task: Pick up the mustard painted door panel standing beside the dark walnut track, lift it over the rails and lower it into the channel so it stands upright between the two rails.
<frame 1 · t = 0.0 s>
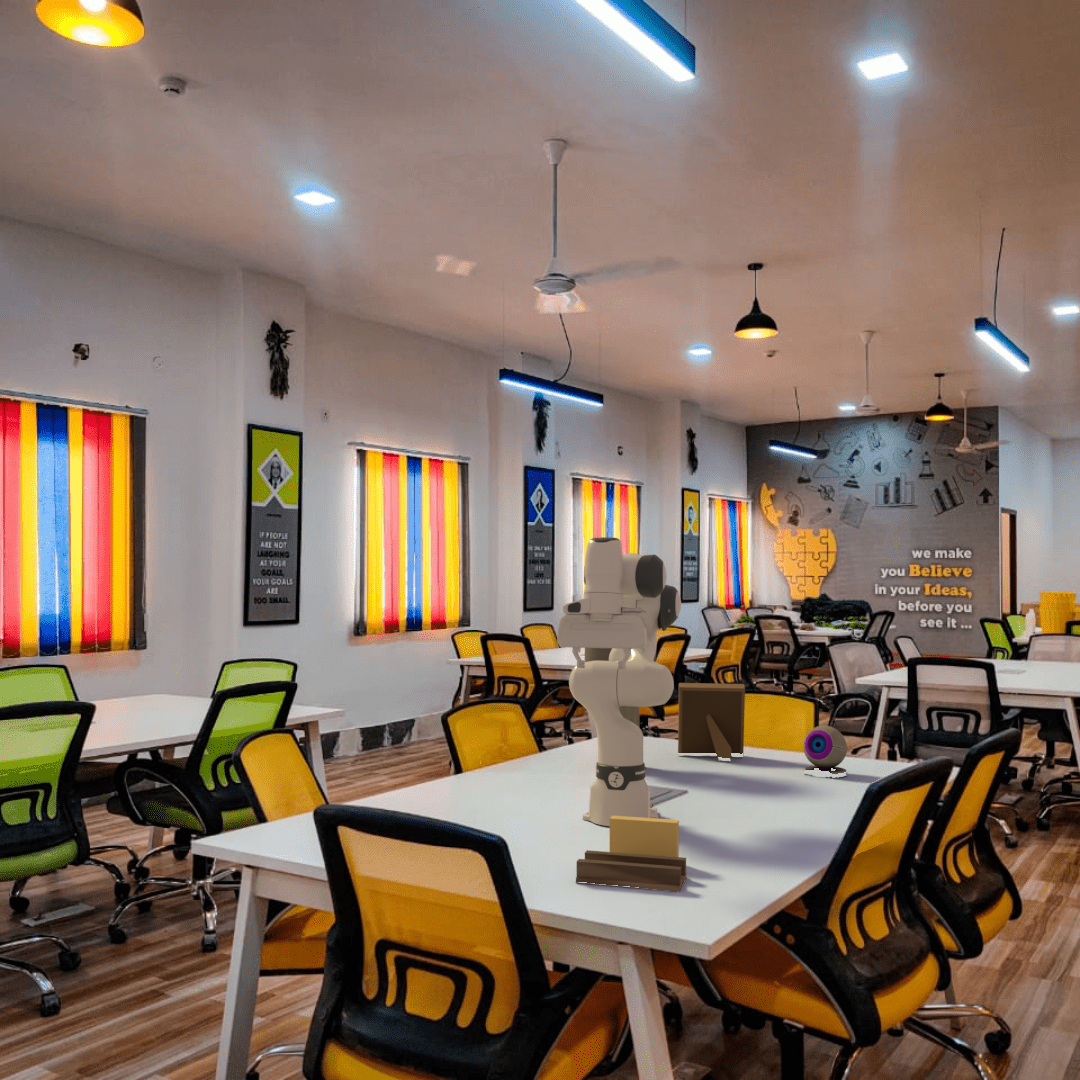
hand: (601, 668, 235), 39 cm above the table, tool pointing down, fingers open, 8 cm apart
door panel: (644, 863, 217), on the table
sliding track: (631, 880, 204), on the table
webcam: (825, 775, 322), on the table
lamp: (619, 768, 332), on the table
photo frame: (711, 759, 351), on the table
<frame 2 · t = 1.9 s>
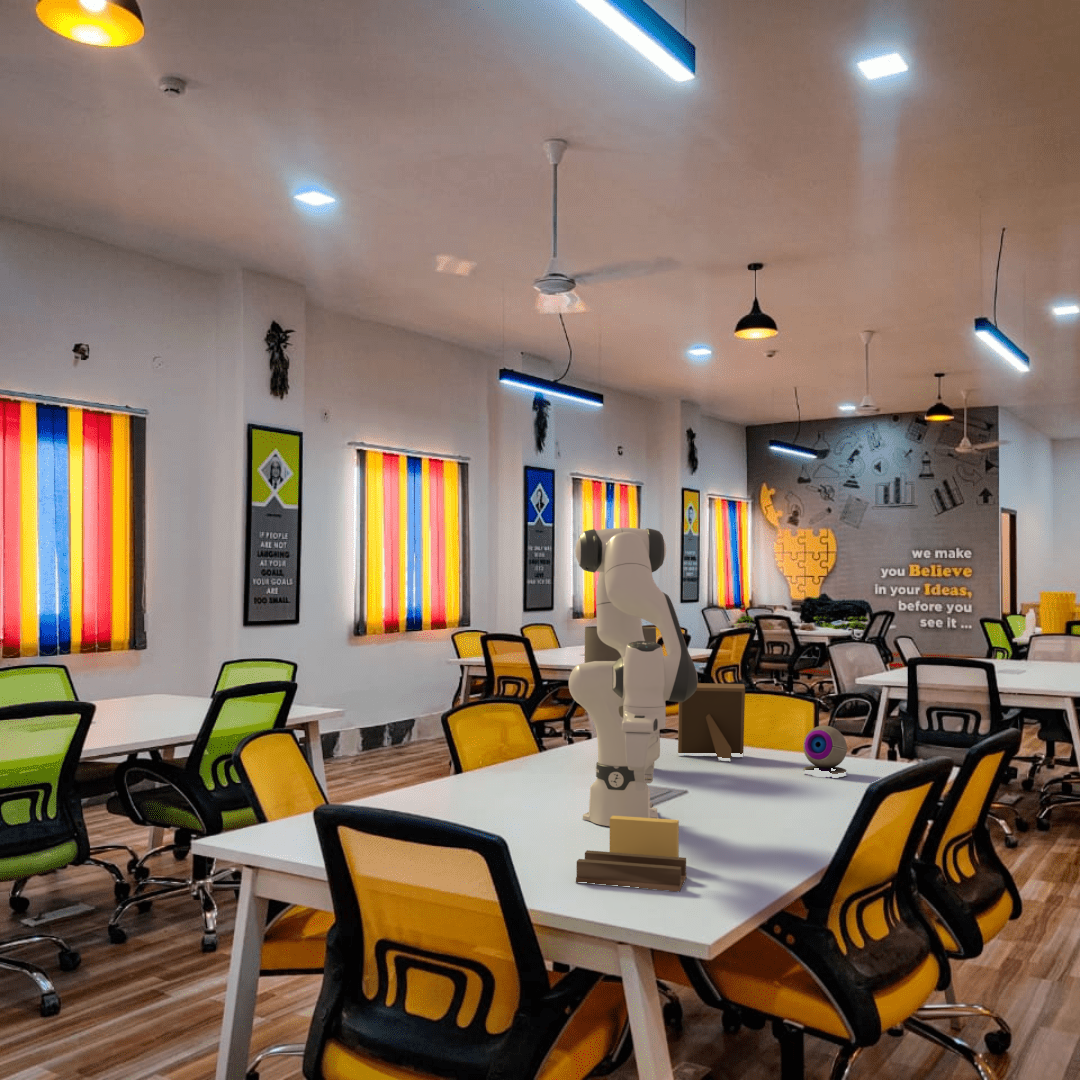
hand: (644, 786, 218), 16 cm above the table, tool pointing down, fingers open, 8 cm apart
nothing on the table moved.
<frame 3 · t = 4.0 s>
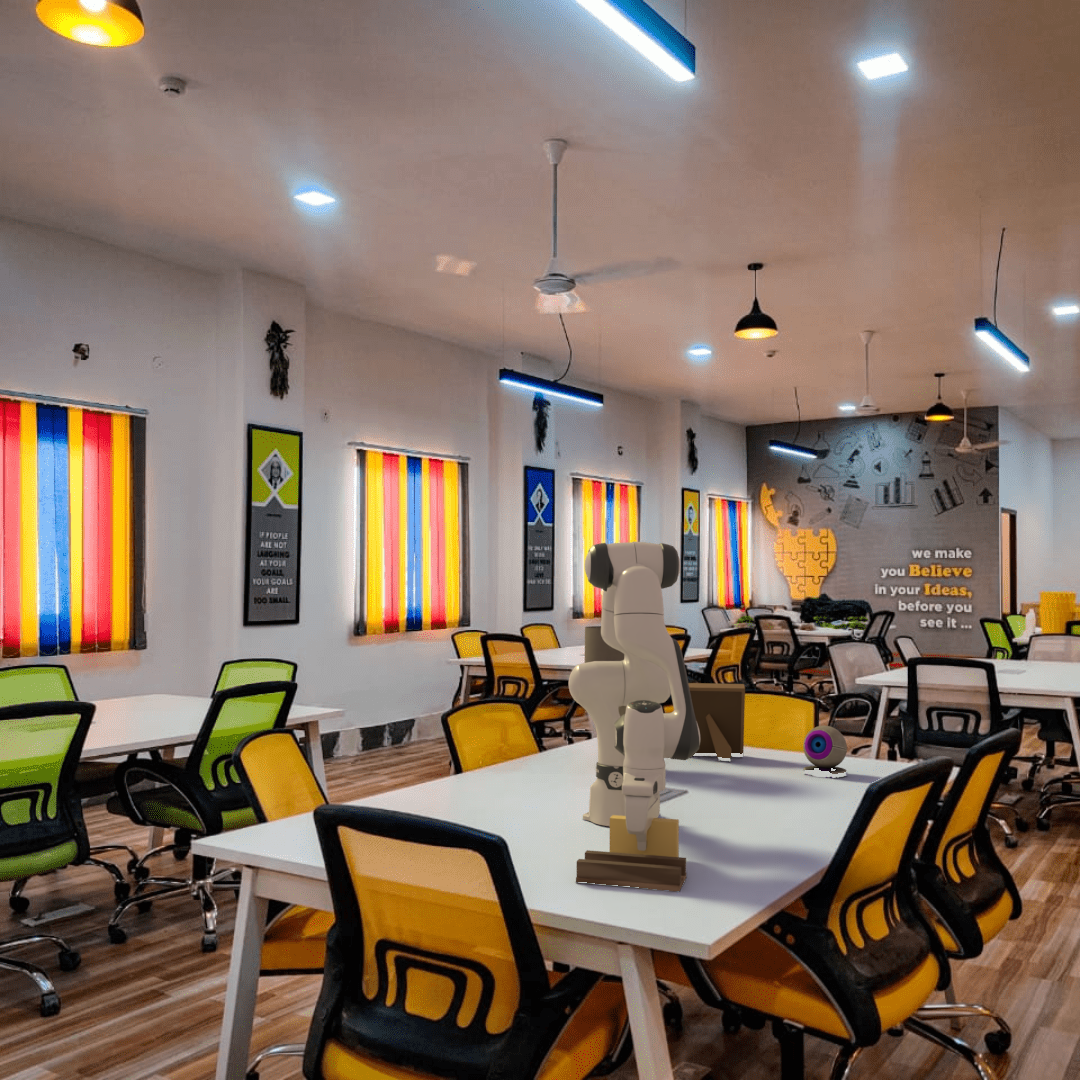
hand: (644, 847, 217), 3 cm above the table, tool pointing down, fingers closed on door panel, 3 cm apart
door panel: (644, 862, 217), on the table, touching gripper
everything else where it was.
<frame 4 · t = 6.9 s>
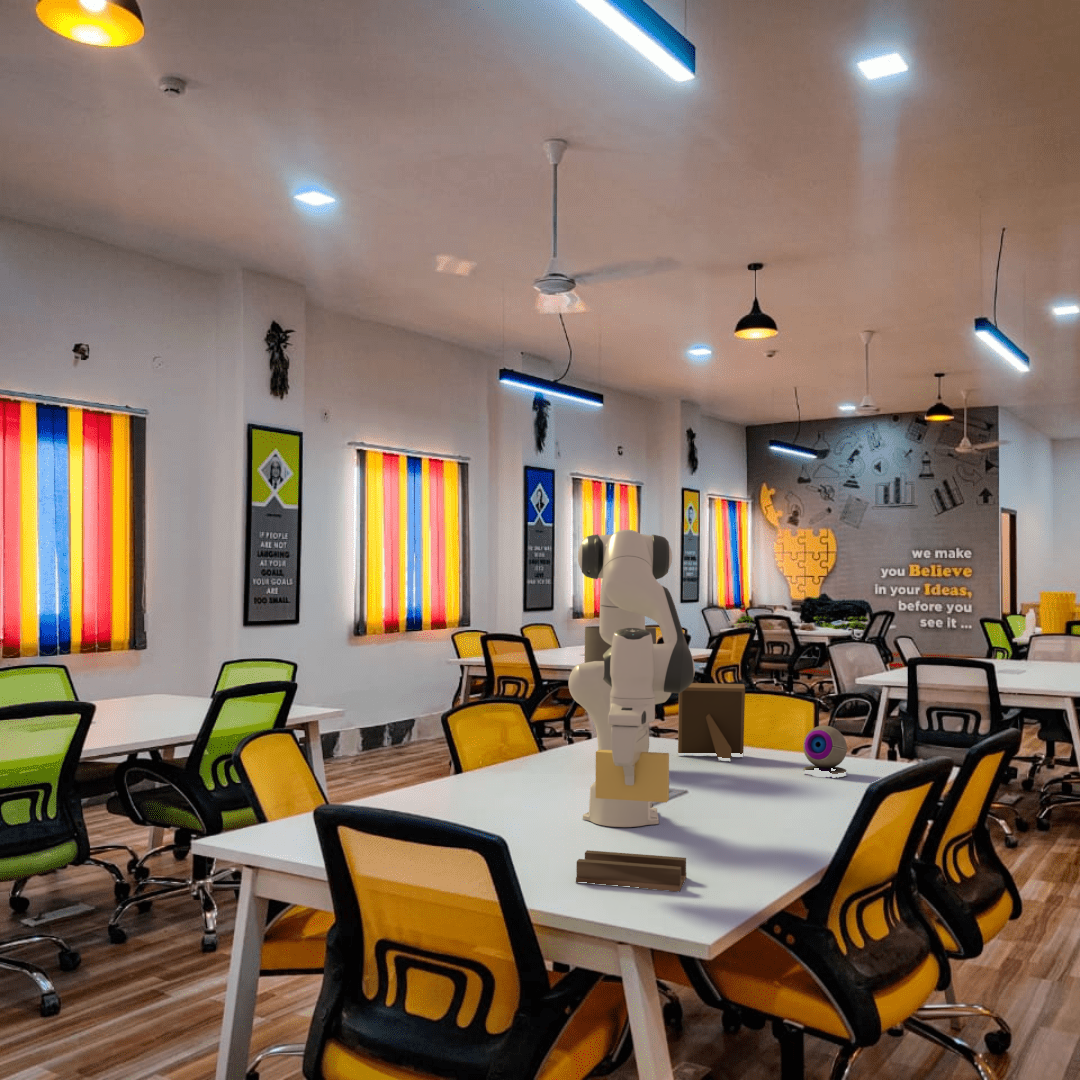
hand: (632, 782, 205), 19 cm above the table, tool pointing down, fingers closed on door panel, 3 cm apart
door panel: (632, 798, 205), point 16 cm above the table, touching gripper
everything else where it was.
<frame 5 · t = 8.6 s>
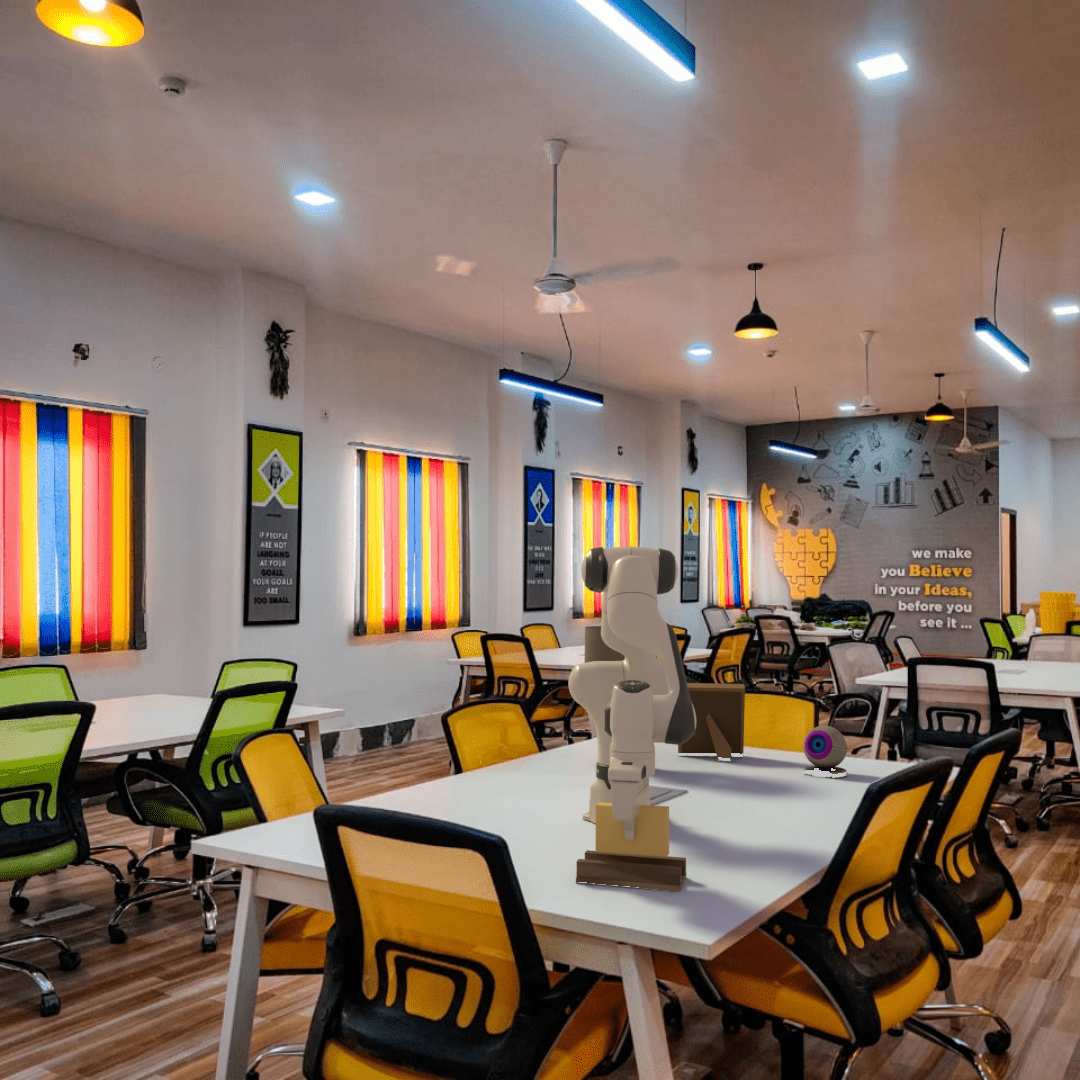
hand: (632, 836, 204), 9 cm above the table, tool pointing down, fingers closed on door panel, 3 cm apart
door panel: (632, 852, 204), point 5 cm above the table, touching gripper
everything else where it was.
when the fingers open (6 cm above the table, at t = 9.9 s): door panel drops 1 cm, resting on sliding track.
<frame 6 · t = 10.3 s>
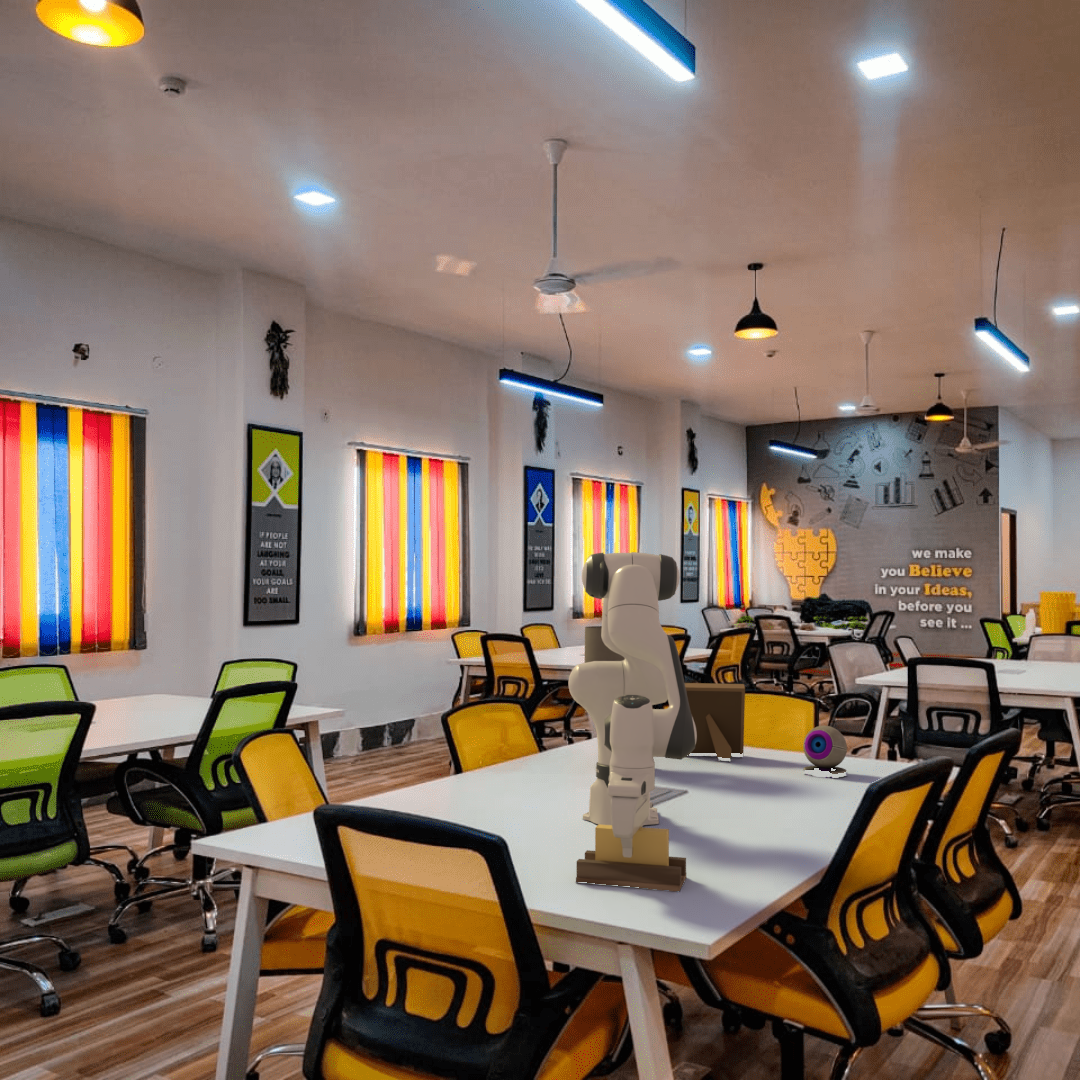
hand: (631, 851, 204), 6 cm above the table, tool pointing down, fingers open, 7 cm apart
door panel: (631, 875, 204), point 1 cm above the table, touching sliding track
everything else where it was.
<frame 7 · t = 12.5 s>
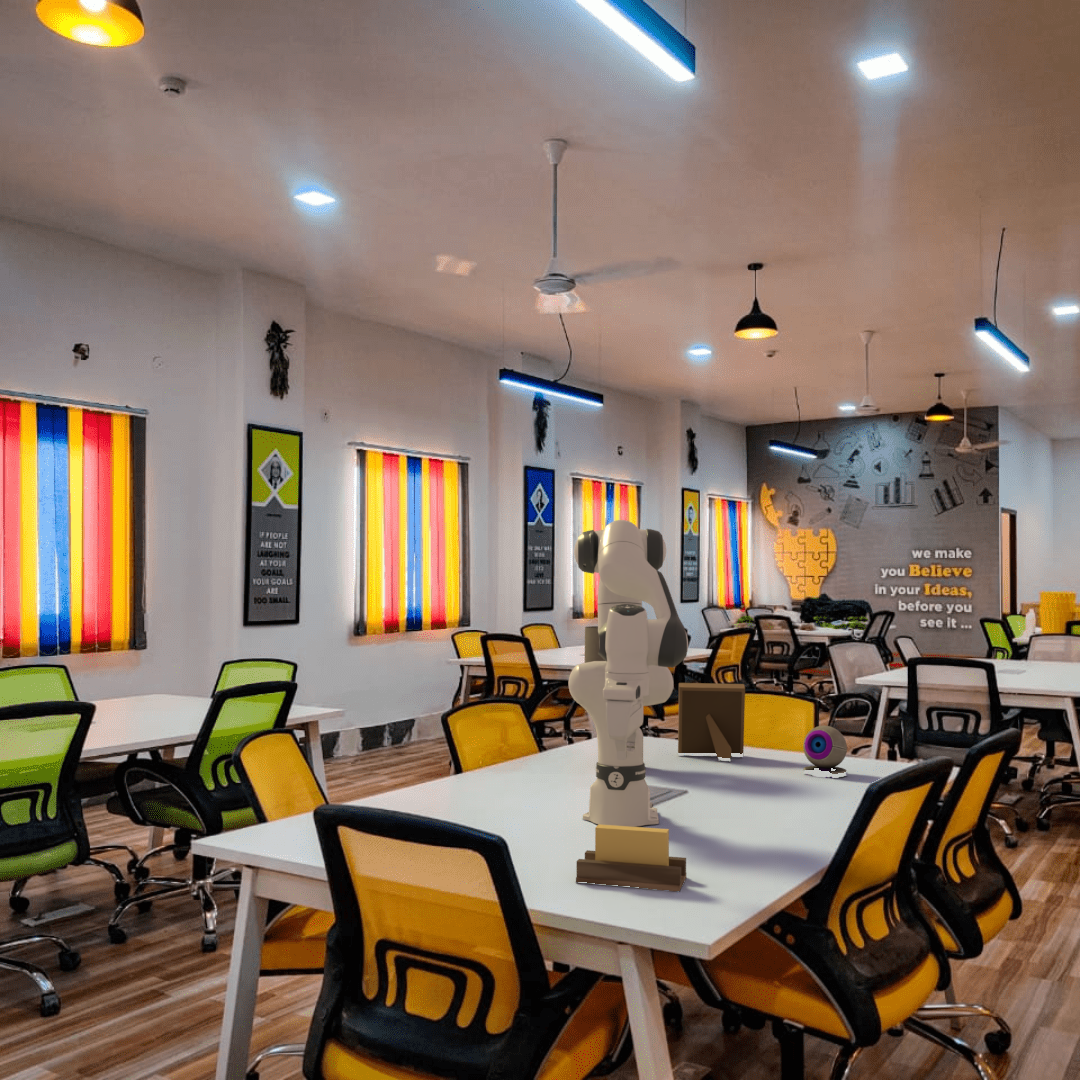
hand: (626, 755, 210), 23 cm above the table, tool pointing down, fingers open, 8 cm apart
nothing on the table moved.
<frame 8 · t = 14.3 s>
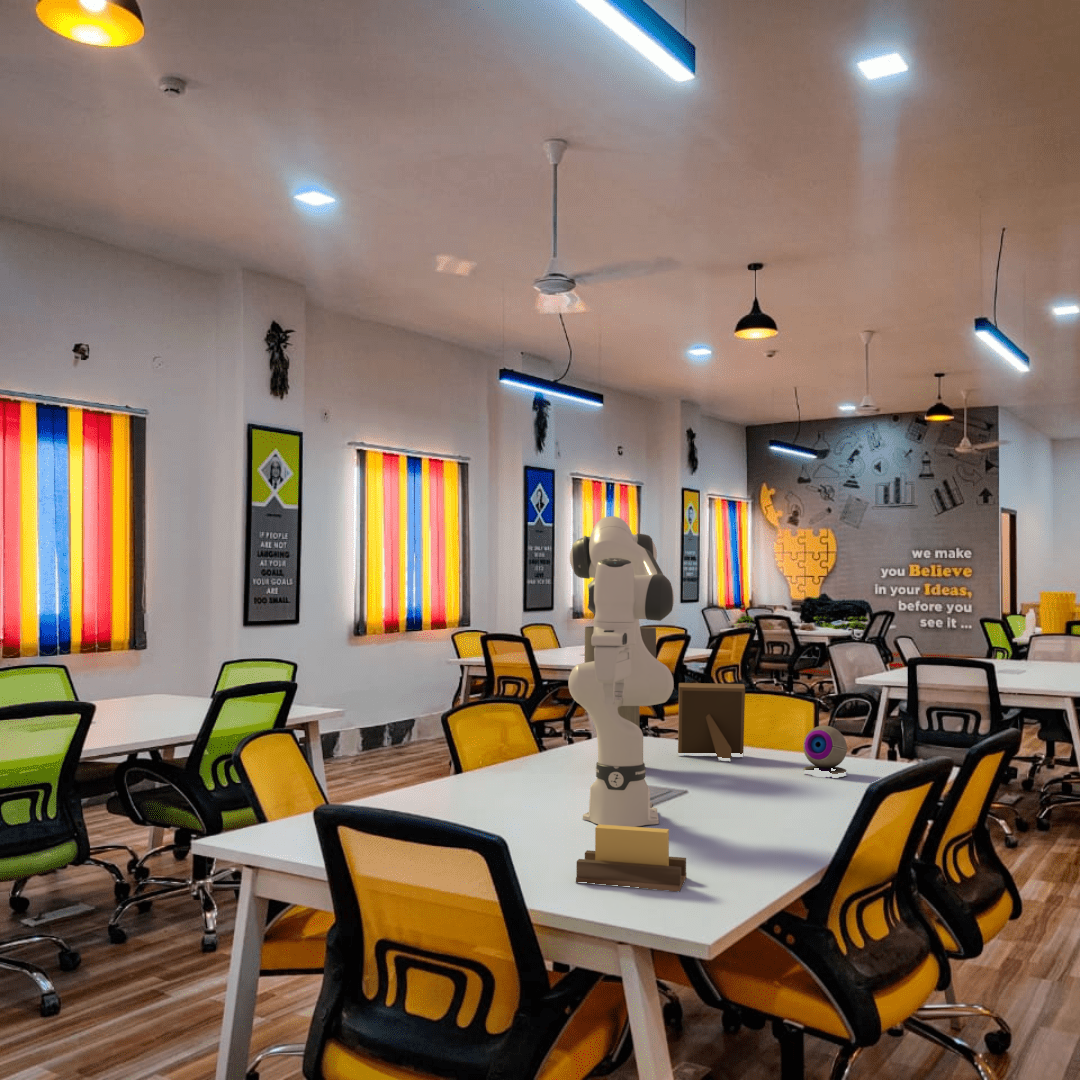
hand: (614, 702, 218), 33 cm above the table, tool pointing down, fingers open, 8 cm apart
nothing on the table moved.
at the end: door panel inside the target area on the sliding track (0.1 cm from its centre), point 1.0 cm above the sliding track's base; door panel tilted 0°; the gripper is holding nothing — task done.
